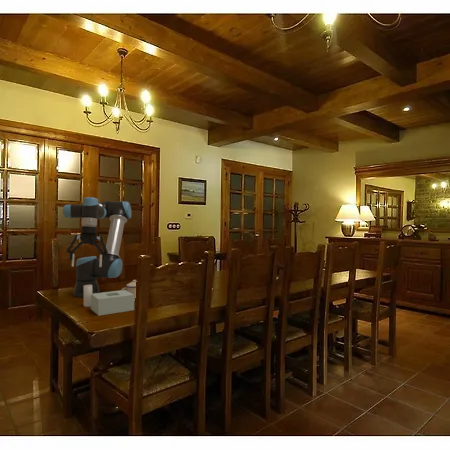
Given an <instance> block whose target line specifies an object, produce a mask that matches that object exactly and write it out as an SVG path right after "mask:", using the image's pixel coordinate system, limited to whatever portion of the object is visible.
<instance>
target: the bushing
mask: <svg viewBox="0 0 450 450" xmlns="http://www.w3.org/2000/svg"><path fill="white" fill-rule="evenodd" d="M91 294H92V285H84V297H83V307H85V308H88V307H89V308H91Z"/></svg>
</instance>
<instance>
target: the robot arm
mask: <svg viewBox="0 0 450 450" xmlns="http://www.w3.org/2000/svg"><path fill="white" fill-rule="evenodd" d="M62 214H63V217H65V219H66V218H67V219H81V230H80V235H77V234H74V236H73V240H72V241H71V243H70V244H69V246H68V248H67V249H66V250H65V252H66V253H68V254H69V260H70V261H71V267H73V268H74V266H75V275H76V276H75V278H76V279H75V285H74V288H73V291H72V293H73V294H72V296H73V297H77V298H84V285H92V294H94V293H101V292H100V291H101V289H100V288H99V285H98V281H97V278H100V279H103V278H104V279H113V278H118V277H119V276H120V275H121V273H122V271H123V265H124V264H123V260H122V259H121V256H120V250H121V249H120V248H121V244H122V239H123V235H124V234H123V233H124V227H125V224H126V223H127V222H128V219H131V218H132V206H131V204H130V202H129V201H124V200H122V201H120V200H119V201H118V200H117V201H116V200H115V201H114V200H113V201H112V200H111V201H110V200H105V201H100V202H99V199H98V198H96V197H91V196H90V197H89V196H87V197H84V198H83V200H82V204H70V203H69V204H65V205H64V206H63V209H62ZM102 219H109V221H110V225H109V230H108V235H107V239H106V245H105V242H104V240H103V239H104V238H103V236H101V235H100V236H97V230H98V229H97V226H98V224H97V223H98V220H102ZM79 239H80V240H81V241H80V242H79V243H78V244H76V245H75V247H74V244H75V243H76V242H77V240H79ZM96 240H98V241H99V242H100V246H101V247H100V246H99V244H98V243H97V242H96ZM83 244H84V245H93V246H94V247H95V248H96V250H97V251H98V252H99V253H100V254H99V258H97V256H96V255H94V256H93V255H92V256H84V257H80V258H77V260H76V264H75V252H76V251H77V250H78V249H79V248H80V247H81V246H82V245H83ZM73 247H74V248H73ZM72 248H73V249H72Z"/></svg>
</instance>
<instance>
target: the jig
mask: <svg viewBox="0 0 450 450" xmlns="http://www.w3.org/2000/svg"><path fill="white" fill-rule="evenodd" d="M90 310H91V311H92V312H93V313H95V314H96V315H97V316H98V317H99V316H104V315H105V316H106V315H110V314H111V315H112V314H116V313H117V314H118V313H124V312H130V311H131V312H132V311H135V302H134V294H132V293H130V292H128V291H127V289H123V290H122V289H121V290H113V291H103V292H100V293H94V294H91V306H90Z"/></svg>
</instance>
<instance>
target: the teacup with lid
mask: <svg viewBox="0 0 450 450" xmlns="http://www.w3.org/2000/svg"><path fill="white" fill-rule="evenodd" d="M136 282H137V279H133V280H132V281H131V282H129V283H126V285H125V287H123V288H121V290H126V291H128V292H130V293H132V294H134V303H136V302H135V298H136Z"/></svg>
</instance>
